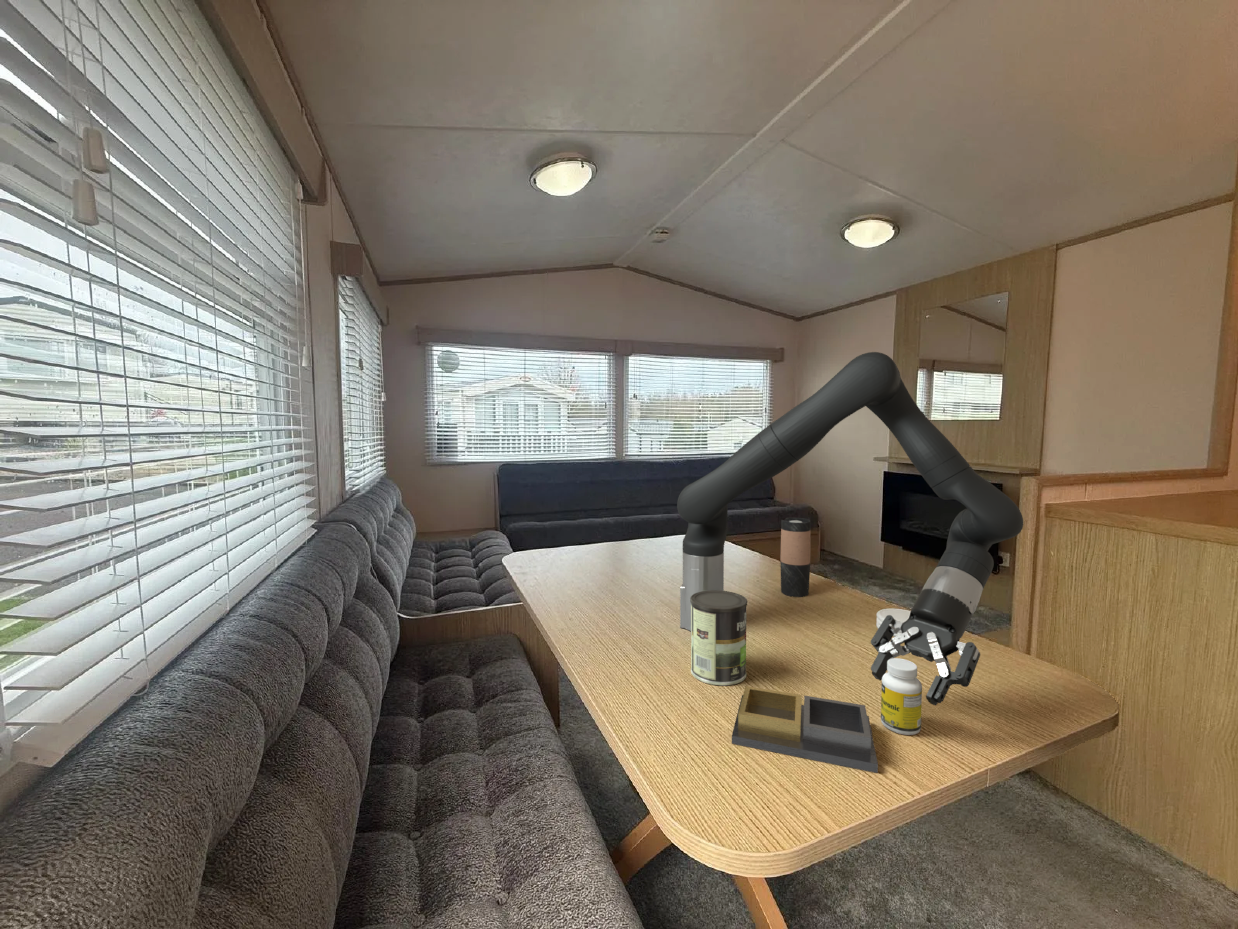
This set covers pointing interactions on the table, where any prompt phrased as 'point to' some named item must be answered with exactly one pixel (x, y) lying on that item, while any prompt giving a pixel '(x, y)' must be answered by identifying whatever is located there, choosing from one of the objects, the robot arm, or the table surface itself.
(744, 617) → the coffee can
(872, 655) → the table surface
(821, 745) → the two compartment tray
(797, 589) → the travel mug
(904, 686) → the supplement bottle
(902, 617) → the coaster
